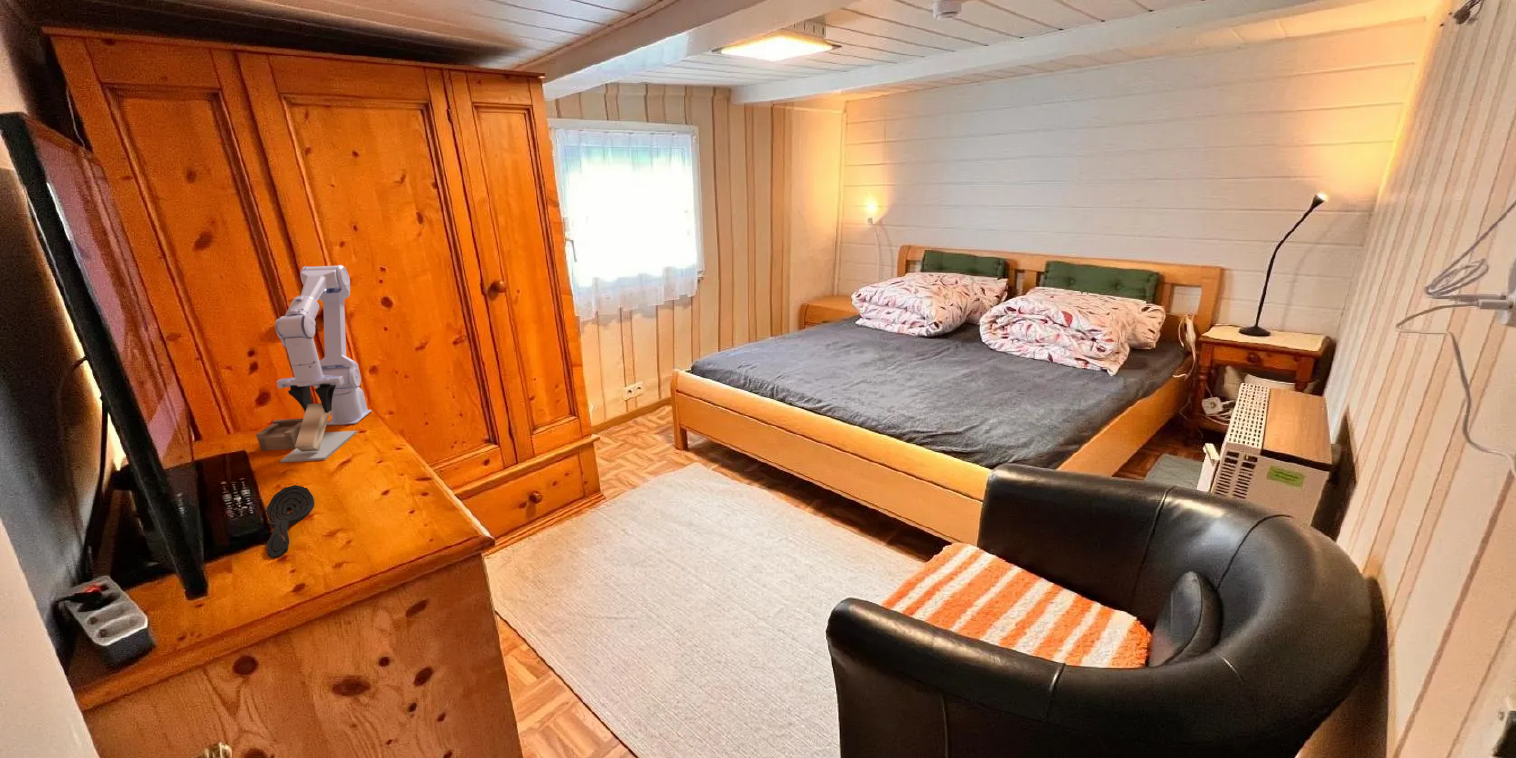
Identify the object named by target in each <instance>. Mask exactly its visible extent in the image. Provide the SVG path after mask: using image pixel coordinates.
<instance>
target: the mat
mask: <svg viewBox="0 0 1516 758" xmlns="http://www.w3.org/2000/svg"><path fill="white" fill-rule="evenodd" d="M357 433H358V431H357V430H346V431H344V430H343V431H328V432H327V431H326V432H325V431H324V435H323V439H322V442H321V446H320V449H319V451H305V452H302V451H300V450H299V449H297V448H296V449H292V451H291V452H290V453H288V454H286V455H285V456H284V457H283V458H282V459H280V463H282V464H283V463H293V462H294V463H296V462H297V463H299V462H309V461H311V462H312V461H313V462H314V461H326V460H327V459H328V458H329V457H331V456H332V455H333V454H334V453H335V452H337V451H338V450H339V449H340V448H341V447H342V446H343V445H344V444H346V443H347V442H348V441H350V439H351V437H352V436H353V435H354V436H355V435H356V434H357ZM354 436H353V437H354ZM353 437H352V438H353Z"/></svg>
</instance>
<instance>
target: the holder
mask: <svg viewBox="0 0 1516 758" xmlns="http://www.w3.org/2000/svg"><path fill="white" fill-rule="evenodd" d="M302 422H303V418H289V419H287V418H285V419H284V418H283V419H275V420H273V421H272V423H271V424H270V425H269V426H267V427H265V428H264V429H262V430H260V431H259V432H258V433H256V434H255V436H256V438H257V442H258V445H259V447H260V451H262V452H263V451H278V450H295V449H296V447H295V444H296V441H297V438H298V435H299V431H300V428H301V425H302Z"/></svg>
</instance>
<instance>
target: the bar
mask: <svg viewBox="0 0 1516 758" xmlns="http://www.w3.org/2000/svg"><path fill="white" fill-rule="evenodd" d="M304 412H305V411H304ZM330 415H331V413H330V412H328V413H325V411H324V409H323V407H322V403H321V402H320V403H312V404H308V405H307V409H306V412H305V413H304V415H303V417H302V419H303V422H302V425H301V428H300V431H299V435H298V438H297V441H296V444H295V447H296V448H297V449H299V450H300V451H302V452H305V451H319V449H320V446H321V442H322V439H323V435H324V433H325V431H326V427H327V425H326V424H327V422H329V421H328V420H329V417H330Z"/></svg>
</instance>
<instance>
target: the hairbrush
mask: <svg viewBox="0 0 1516 758" xmlns="http://www.w3.org/2000/svg"><path fill="white" fill-rule="evenodd" d="M295 483H296V484H294V483H292V485H290V483H288V484H287V485H290V486H285V487H282V488H281V489H280V490H279V491H278V490H277V489H275V492H276V493H274V492H271V493H272V494H274V495H273V497H272V495H271V494H270V495H269V497H271V499H270V498H268V500H270V501H268V500H267V501H266V502H267V503H268V502H269V503H268V504H267V503H265V505H264V507H265V508H264V510H265V513H266V512H267V515H268V518H269V524H270V525H269V527H270V526H271V527H270V528H274V529H273V531H272V533H271V535H270V536H269V539H268V540H267V543H266V554H267V556H268V557H269V558H271V559H277V558H280V557H282V556H283V555H285V554H286V553H287V552H288V551H289V546H290V538H289V534H288V529H289V525H292V524H295V523H298V522H300V521H302V520H304V519H305V518H306V517H307V516H309V514H310V513H312V511H313V509H314V506H315V498H314V496H313V494H312V492H311V491H310V490H309V488H308V487H304V486H303V485H301V484H300V485H299V484H298V482H295ZM266 505H267V506H266ZM268 518H267V519H268Z"/></svg>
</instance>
